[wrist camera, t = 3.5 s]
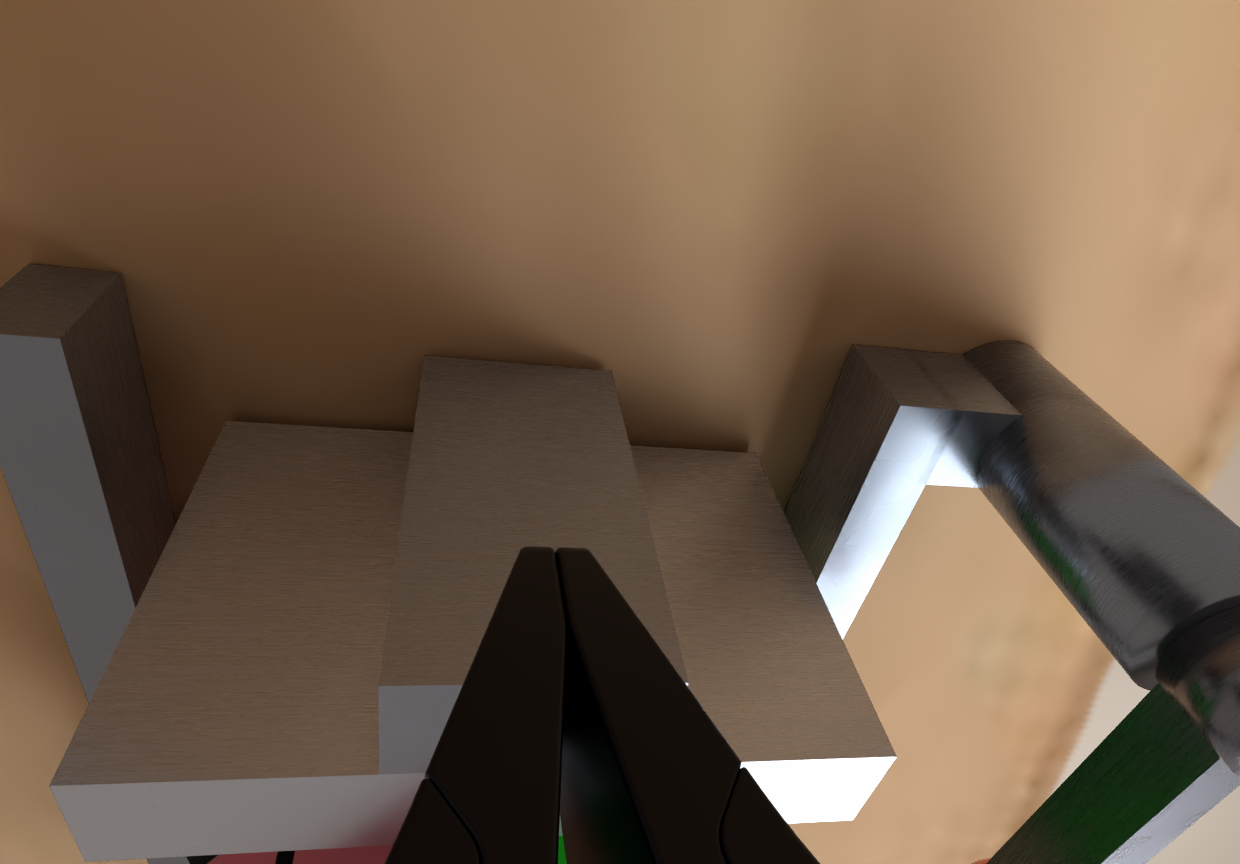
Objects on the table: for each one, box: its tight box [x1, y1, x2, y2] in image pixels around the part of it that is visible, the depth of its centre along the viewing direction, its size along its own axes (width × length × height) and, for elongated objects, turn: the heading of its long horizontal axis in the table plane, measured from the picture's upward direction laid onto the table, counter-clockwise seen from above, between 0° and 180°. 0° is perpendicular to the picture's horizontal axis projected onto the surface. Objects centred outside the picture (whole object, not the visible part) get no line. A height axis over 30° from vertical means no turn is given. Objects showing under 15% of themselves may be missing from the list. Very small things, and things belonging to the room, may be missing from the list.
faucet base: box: [0, 264, 1240, 864], centre depth 19 cm, size 22×22×8 cm
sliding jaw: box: [49, 355, 897, 862], centre depth 14 cm, size 4×12×8 cm, turn 80°
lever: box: [972, 605, 1240, 864], centre depth 14 cm, size 11×2×2 cm, turn 169°
